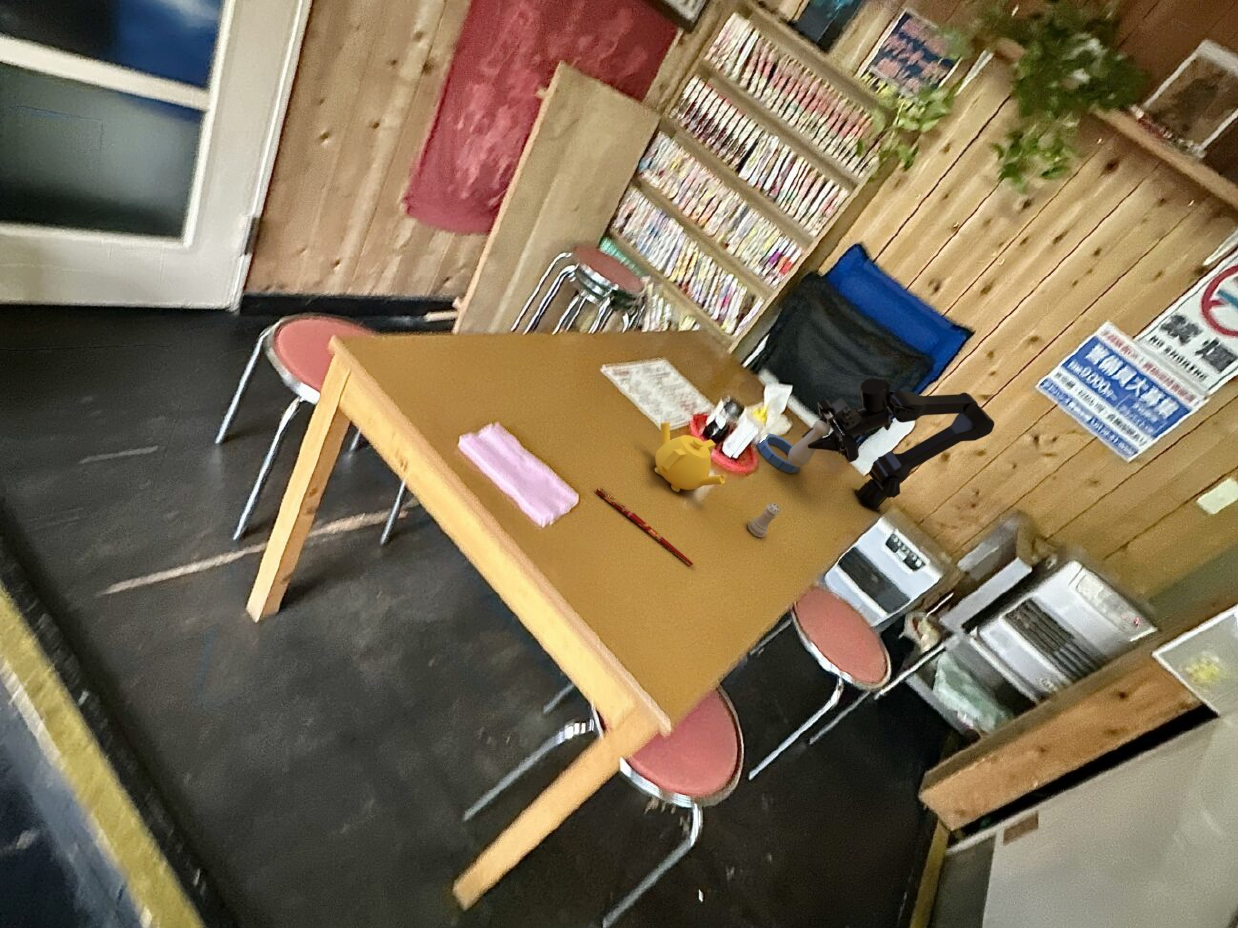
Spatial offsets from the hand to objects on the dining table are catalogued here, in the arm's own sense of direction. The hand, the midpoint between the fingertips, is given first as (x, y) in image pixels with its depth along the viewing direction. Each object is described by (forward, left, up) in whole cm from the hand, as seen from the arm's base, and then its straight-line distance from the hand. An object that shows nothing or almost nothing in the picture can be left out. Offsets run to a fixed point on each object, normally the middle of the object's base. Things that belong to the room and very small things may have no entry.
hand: (805, 441), depth 188 cm
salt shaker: (-1, 0, -7) cm, 7 cm away
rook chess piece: (+14, +28, -12) cm, 33 cm away
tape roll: (-3, -9, -12) cm, 15 cm away
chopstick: (+45, +40, -12) cm, 61 cm away
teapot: (+34, +19, -12) cm, 41 cm away
